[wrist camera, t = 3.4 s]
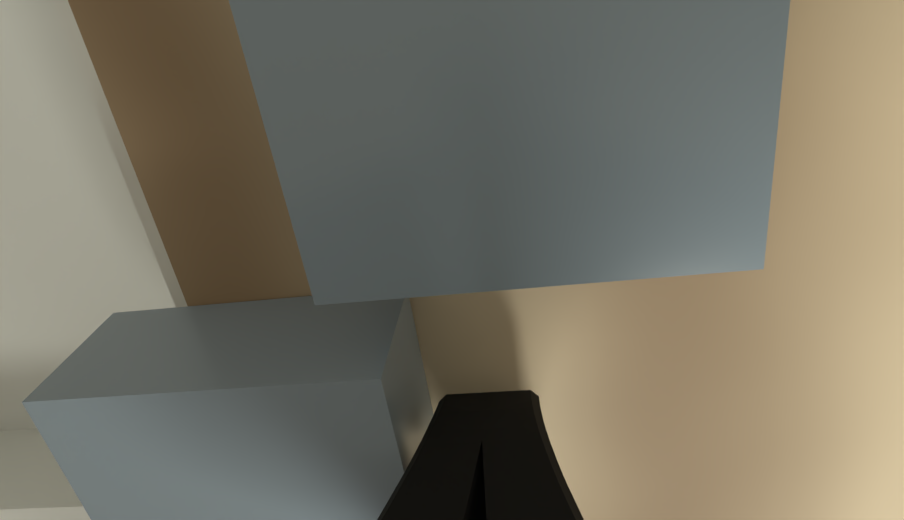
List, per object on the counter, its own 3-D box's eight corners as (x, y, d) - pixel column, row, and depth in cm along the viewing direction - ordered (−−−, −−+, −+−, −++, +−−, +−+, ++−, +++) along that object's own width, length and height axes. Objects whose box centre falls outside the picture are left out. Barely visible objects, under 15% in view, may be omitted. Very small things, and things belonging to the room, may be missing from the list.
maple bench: (1218, -467, 8) (1835, -806, 4) (966, 383, 14) (1127, 545, 10) (148, -243, 9) (-66, -341, 6) (339, 418, 15) (289, 564, 12)
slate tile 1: (728, -267, 6) (824, -352, 4) (706, 191, 8) (763, 269, 6) (261, -177, 6) (168, -216, 5) (355, 225, 8) (314, 305, 7)
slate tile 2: (407, 287, 9) (380, 378, 7) (453, 511, 11) (442, 626, 9) (113, 312, 9) (21, 401, 8) (210, 520, 11) (154, 628, 10)
